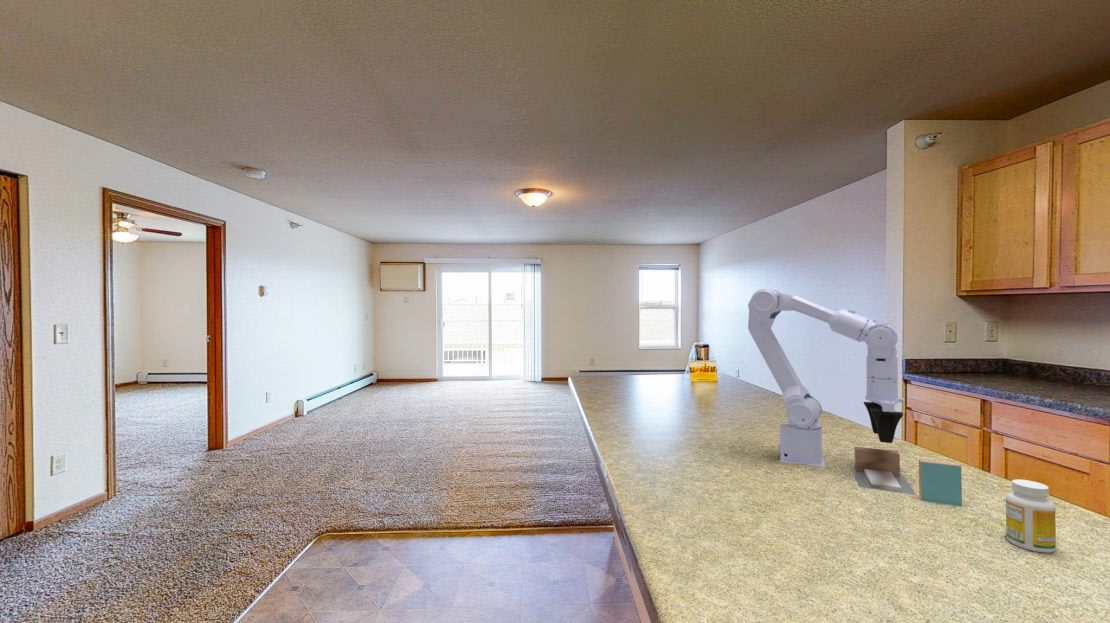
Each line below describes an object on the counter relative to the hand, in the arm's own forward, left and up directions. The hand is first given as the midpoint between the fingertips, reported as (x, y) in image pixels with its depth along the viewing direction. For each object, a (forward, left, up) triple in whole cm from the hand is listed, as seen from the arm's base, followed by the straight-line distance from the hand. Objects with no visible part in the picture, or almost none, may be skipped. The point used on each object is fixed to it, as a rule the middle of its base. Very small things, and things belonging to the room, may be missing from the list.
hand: (882, 437), depth 101 cm
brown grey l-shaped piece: (-1, -4, -8) cm, 9 cm away
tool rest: (-1, -5, -8) cm, 10 cm away
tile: (+7, -14, -9) cm, 18 cm away
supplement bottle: (+15, -27, -9) cm, 32 cm away
